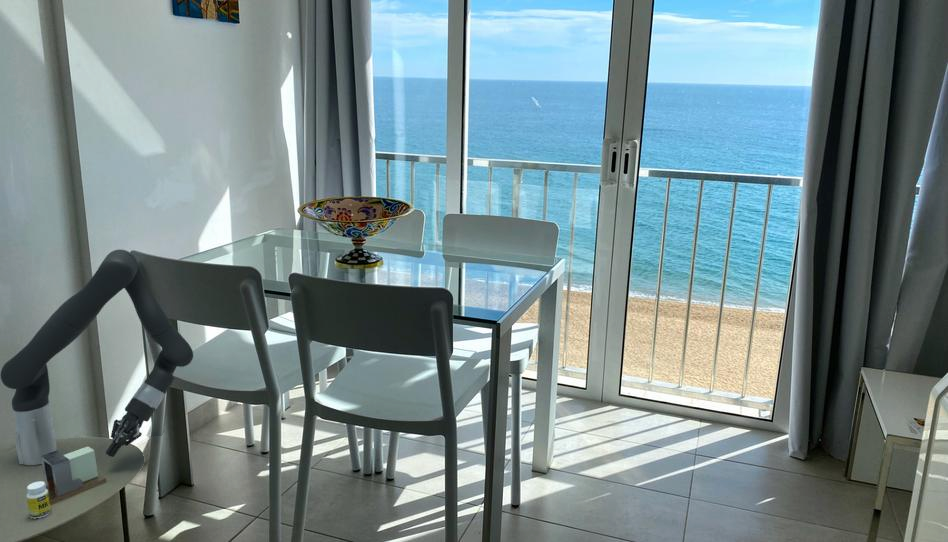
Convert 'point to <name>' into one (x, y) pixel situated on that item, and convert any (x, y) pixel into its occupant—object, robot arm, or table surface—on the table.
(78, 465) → the mint green block
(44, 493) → the supplement bottle
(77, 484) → the base
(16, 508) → the table surface
